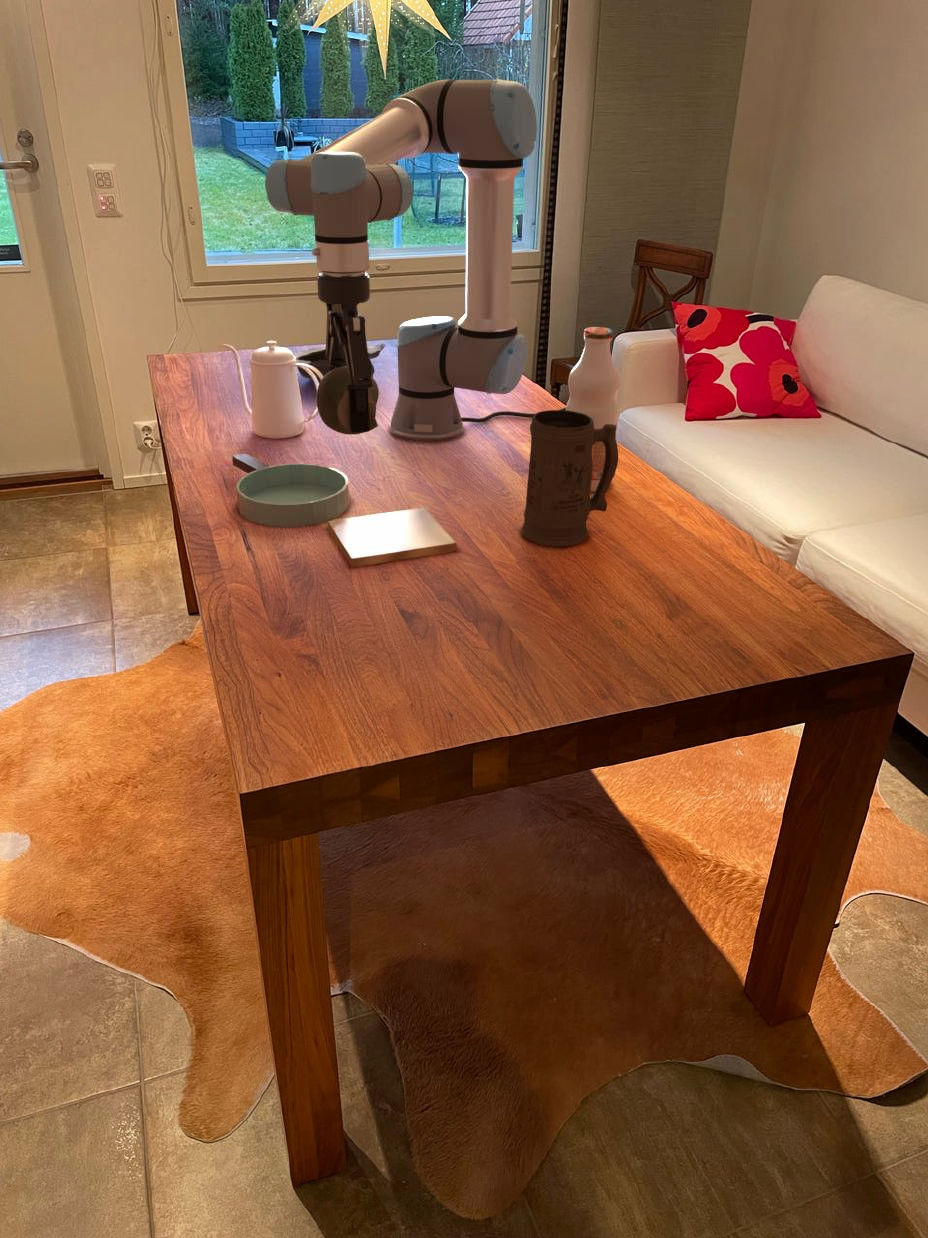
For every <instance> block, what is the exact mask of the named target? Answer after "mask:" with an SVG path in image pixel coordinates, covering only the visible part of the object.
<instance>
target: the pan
mask: <svg viewBox="0 0 928 1238" xmlns="http://www.w3.org/2000/svg"><path fill="white" fill-rule="evenodd" d="M269 466H270V465H269ZM235 491H236V492H235V493H236V502H237V508H238V511H239V514H240V515H241V516H242V517H243V518H245V519H246V520H249V521H250V522H252V523H256V524H259V525H263V526H269V527H277V528H278V527H279V528H295V527H306V526H307V527H308V526H313V525H317V524H321V523H325V522H328V521H331V520H334V519H335V518H337V517H340V516H341V515H342V514H343V513H345V512H346V511H347V509H348V508H349V505H350V491H349V478H348V477H347V475H346V474H344V472H342V471H340V470H339V469H336V468H332V467H329V466H326V465H320V464H314V463H284V464H274V465H271V466H270V467H265V468H261V469H258V470H256V471H253V472H250V473H246V474H245V475H243V476H241V477H240V478H239V480H237V481H236V486H235Z"/></svg>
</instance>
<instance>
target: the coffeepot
mask: <svg viewBox="0 0 928 1238" xmlns="http://www.w3.org/2000/svg"><path fill="white" fill-rule="evenodd" d="M277 344H278V342H277V340H268V341H267V340H266V342H265V345H266V346H264V347H260V348H257V349H255V350H254V351H253V352H252V353H251V357H250V358H249V360H248V361H249V364H250V388H251V394H250V395H251V408H250V406H249V402H248V398H247V392H246V387H245V381H244V374H243V370H242V369H243V368H242V364H241V358H240V355H239V353H238V350H236V348H234V346H232V345H230V344H226V343H222V344H220V345H218V346H217V347H218V348H222V349H227V350H229V351H230V352H231V353H232V354H233V356H234V358H235V363H236V368H237V370H236V371H237V374H238V375H237V376H238V381H239V387H240V392H241V399H242V403H243V407H244V410H245V411H246V413H247V414H248V415H250V416H251V427H252V431H253V433H254V434H255V435H257V436H259V437H262V438H266V439H275V440H277V439H288V438H293V437H296V436H298V435H300V434H301V433H302V432H303V431H304V430H305V427H306V423H307V422H309V421H311V420H313V419H315V418H316V417H317V416H318V415H320V414H319V412H318V408H317V403H316V404H315V407H314V410H313V411H312V413H311V415H310V416H309V417H308V418H306V419H305V416H304V409H303V404H302V403H303V402H302V396H301V390H300V385H299V383H300V382H299V377H298V371H297V370H298V369H297V366H298V367H301V368H302V369H304V370H305V371H306V372H308V374H309V375H310V376H311V377H312V379H311V380H312V382H314V386H315V389H316V392H317V389H318V386H319V384H320V382H319V380H317V378H316V376H315V375H314V373H313V372H312V371H311V370H313V371H314V372H315V373H316V374H317V375H318V376H319V378H320V379H322V378H323V375H322V374H321V373H320V372H319V370H317V369H316V368H315V367H313V366H310V365H308V364H303V363H297V364H296V357H295V356H293V353H294V352H292V351H291V350H290V349H289V348H286V347H282V346H277ZM310 369H311V370H310Z"/></svg>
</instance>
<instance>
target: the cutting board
mask: <svg viewBox="0 0 928 1238" xmlns="http://www.w3.org/2000/svg"><path fill="white" fill-rule="evenodd" d="M327 529H328V532H329V533H330V534H331V536H332V537H333V540H334V541H335V542H336V544H337V546H338V547H339V550H341V552H342V553H343V555H344V557H345V559H346V560H347V562H348V563H349V565H350V566H351V568H357V567H364V566H371V565H376V564H382V563H388V562H389V563H390V562H394V561H395V562H396V561H402V560H403V561H404V560H408V559H415V558H421V557H428V556H432V555H440V554H447V553H453V552H457V542H456V541H455V540H454V539H453V537H452V536H451V534H449V533H448V532H447V530H445V528H444V527H443V526H442V525H441V524H440V523H439V521H437V519H436V518H435V517H434V516H433V515H432V514H431V512H430V511H429V510H428V509H427V508H426V507H418V508H411V509H403V510H396V511H389V512H382V513H374V514H367V515H359V516H353V517H346V518H339V519H331V520H328V521H327Z"/></svg>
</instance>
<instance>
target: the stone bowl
mask: <svg viewBox="0 0 928 1238" xmlns="http://www.w3.org/2000/svg"><path fill="white" fill-rule="evenodd" d="M385 347H386V344H384V343H381V344H376V345H375V346H372V345H370V344H369V345H368V344H367V349H368V357H369V365H370V373H371V376H372V378H373V379H374V374H375V372H376V371H375V370H376V369H375V366H374V364H373V362H372V360H373V359H376V358H378V357H379V356H380V354H381V352H382V351H383V349H384V348H385ZM292 353H293V356H295V357H296V364H297V363H303V364H308V365H310V366H313V367H315V368H316V369H317V370H319V372H320V373H321V374H322V375H323V377H324V376H325V375H326V374H327V373H328V372H330V367H332V366H330V365H329V363H328V359H327V358H326V356H325V353H326V346H321V347H320V346H319V347H315V348H310V349H307V350H302V351H297V352H292ZM342 366H347V364H346V365H342ZM296 369H297V370H298V372H299V374H300V375H301V376H302V377H303V378H305V379H309V380H313V379H312V377H311V376H310V375H309V374H308V372H306V371H305V370H304V369H302V368H301V367H298V366H296ZM310 370H311V369H310ZM311 371H312V372H313V373H314V375H315V376H316V378H317V380H318V381H321V379H320V378H319V376H318V375H317V374H316V373H315V372H314V371H313V370H311Z"/></svg>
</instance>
